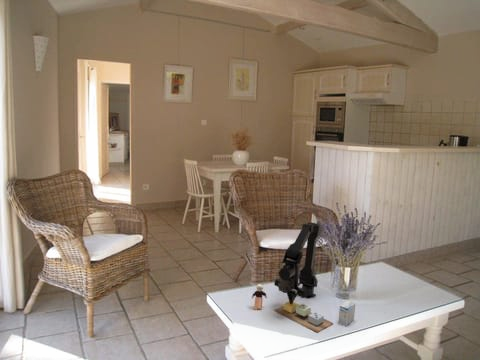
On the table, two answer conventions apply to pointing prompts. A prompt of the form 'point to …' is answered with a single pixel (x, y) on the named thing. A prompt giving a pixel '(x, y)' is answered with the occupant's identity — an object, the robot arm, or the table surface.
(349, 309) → the medicine box
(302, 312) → the sage tile
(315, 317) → the slate tile
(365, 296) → the table surface
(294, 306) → the mustard tile
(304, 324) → the button board
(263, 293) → the grandmother figurine
